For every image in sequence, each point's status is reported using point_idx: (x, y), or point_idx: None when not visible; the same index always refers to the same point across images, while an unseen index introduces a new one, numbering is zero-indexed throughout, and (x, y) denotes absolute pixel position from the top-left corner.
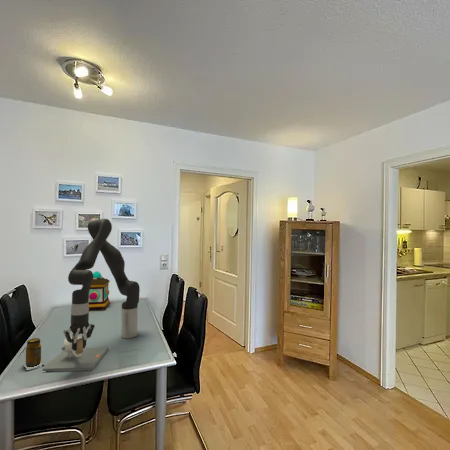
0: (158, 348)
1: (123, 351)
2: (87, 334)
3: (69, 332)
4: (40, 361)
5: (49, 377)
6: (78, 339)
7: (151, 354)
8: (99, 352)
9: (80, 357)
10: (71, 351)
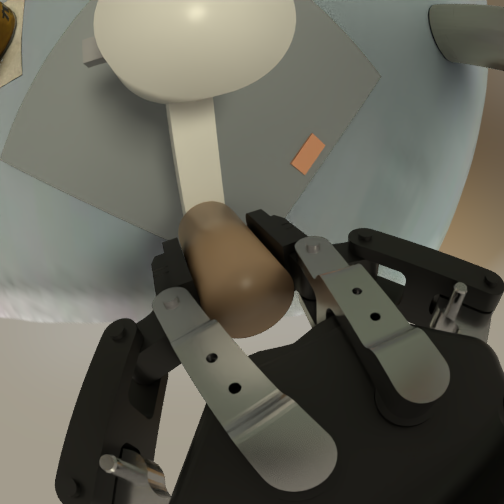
0: (447, 209)
1: (398, 148)
2: (369, 265)
3: (154, 484)
4: (6, 35)
5: (45, 239)
6: (244, 295)
7: (422, 238)
8: (330, 106)
9: (219, 98)
10: (160, 103)
